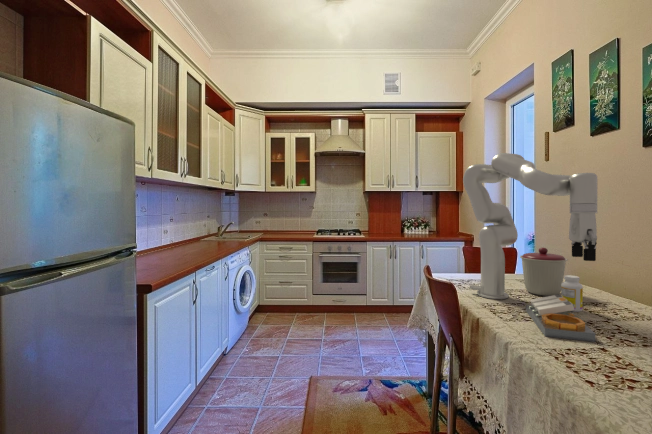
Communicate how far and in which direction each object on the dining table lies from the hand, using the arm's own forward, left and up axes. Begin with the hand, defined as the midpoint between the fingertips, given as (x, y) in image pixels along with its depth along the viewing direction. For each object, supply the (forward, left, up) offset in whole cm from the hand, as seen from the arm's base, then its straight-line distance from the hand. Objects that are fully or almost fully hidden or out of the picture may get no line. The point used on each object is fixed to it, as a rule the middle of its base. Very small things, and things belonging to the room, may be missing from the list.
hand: (583, 258), depth 113 cm
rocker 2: (-10, -1, -17) cm, 19 cm away
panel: (-10, -7, -22) cm, 25 cm away
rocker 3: (-10, -6, -17) cm, 20 cm away
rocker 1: (-10, +4, -17) cm, 20 cm away
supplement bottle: (+1, +14, -22) cm, 26 cm away
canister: (-3, +38, -22) cm, 44 cm away
